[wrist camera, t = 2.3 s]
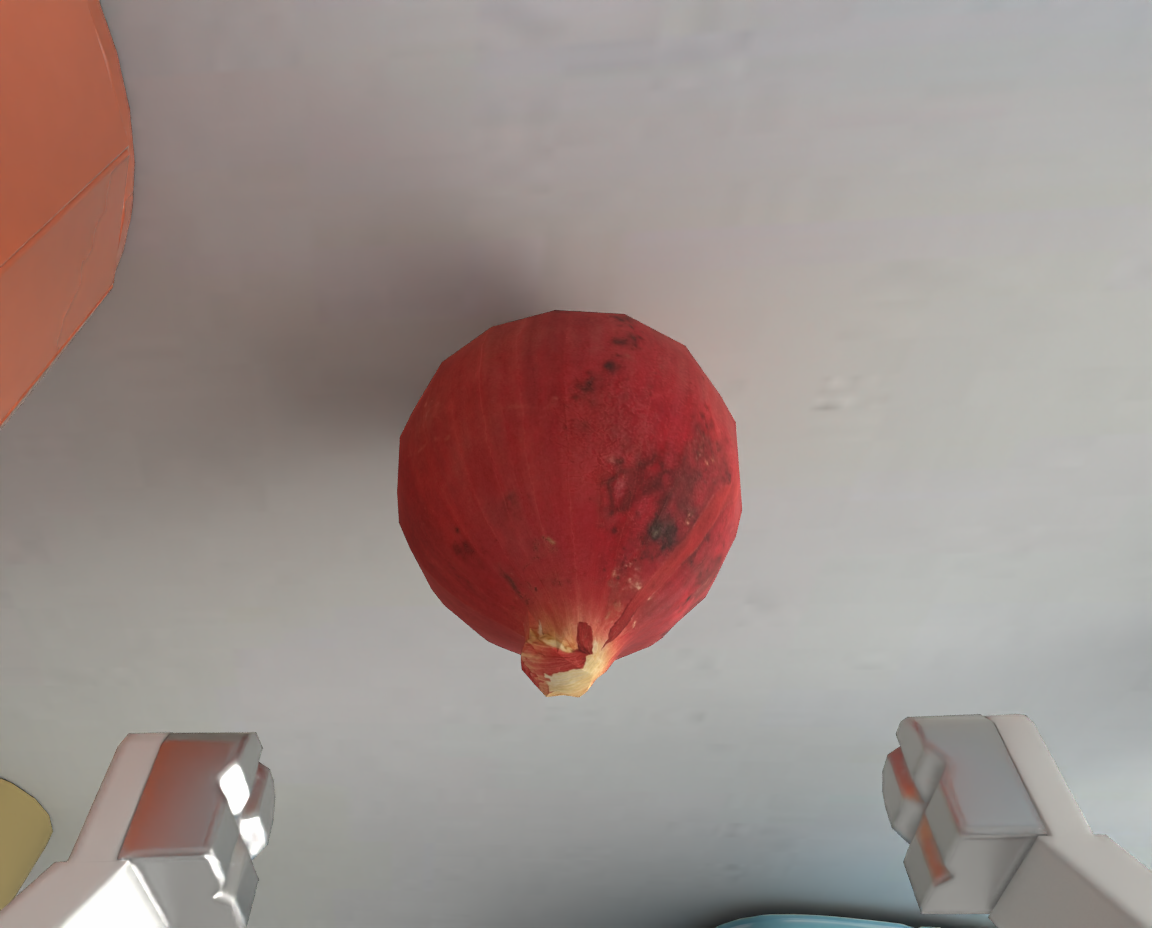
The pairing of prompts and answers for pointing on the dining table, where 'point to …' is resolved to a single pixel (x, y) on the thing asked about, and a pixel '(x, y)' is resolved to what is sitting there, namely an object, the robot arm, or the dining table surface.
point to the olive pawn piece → (19, 838)
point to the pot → (57, 182)
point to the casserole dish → (808, 922)
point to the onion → (570, 489)
